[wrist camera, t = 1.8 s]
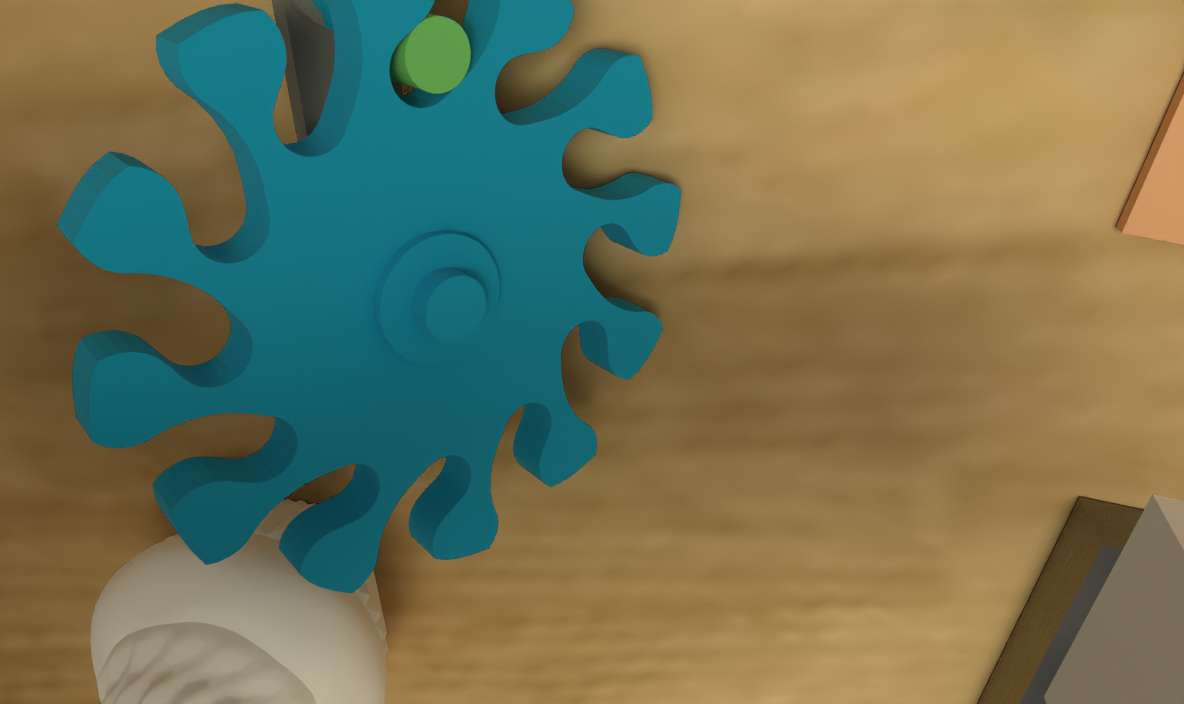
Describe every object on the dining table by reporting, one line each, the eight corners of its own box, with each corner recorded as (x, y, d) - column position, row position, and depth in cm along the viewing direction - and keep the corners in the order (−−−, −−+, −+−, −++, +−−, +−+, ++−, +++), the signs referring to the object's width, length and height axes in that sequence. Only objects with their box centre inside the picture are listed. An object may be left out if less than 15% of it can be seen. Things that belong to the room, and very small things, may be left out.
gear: (702, 463, 20) (194, 731, 14) (527, 357, 24) (82, 535, 18) (708, -176, 14) (-86, -130, 9) (483, -168, 19) (-153, -132, 13)
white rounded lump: (325, 686, 26) (192, 959, 20) (132, 534, 24) (-78, 780, 18) (487, 572, 23) (392, 846, 17) (283, 394, 22) (95, 625, 15)
